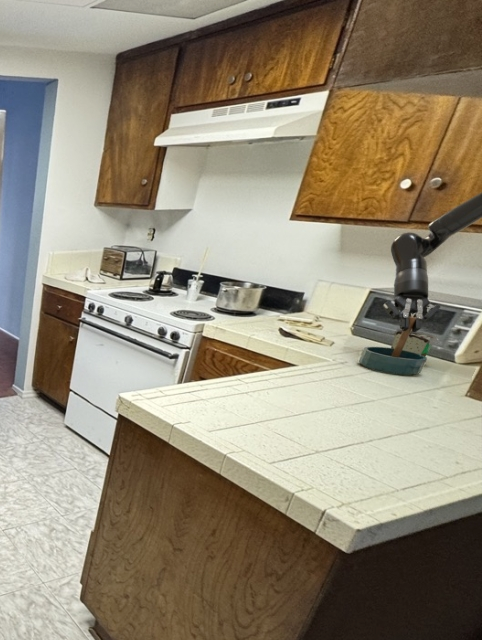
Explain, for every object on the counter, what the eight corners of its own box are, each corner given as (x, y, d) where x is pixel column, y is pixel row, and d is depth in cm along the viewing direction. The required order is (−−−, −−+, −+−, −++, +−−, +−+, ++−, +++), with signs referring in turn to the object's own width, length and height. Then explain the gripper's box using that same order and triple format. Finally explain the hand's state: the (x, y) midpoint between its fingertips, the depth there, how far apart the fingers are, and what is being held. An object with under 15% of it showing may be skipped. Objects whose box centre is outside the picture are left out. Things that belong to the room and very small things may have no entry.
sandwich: (437, 367, 156) (451, 338, 153) (418, 367, 156) (432, 338, 153) (401, 356, 168) (413, 329, 164) (383, 356, 168) (395, 328, 164)
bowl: (408, 366, 157) (415, 350, 155) (428, 379, 145) (436, 362, 143) (351, 359, 163) (357, 344, 161) (366, 371, 151) (373, 355, 149)
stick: (399, 360, 155) (419, 316, 149) (404, 364, 151) (425, 319, 146) (381, 358, 157) (400, 315, 151) (386, 362, 153) (406, 317, 147)
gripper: (389, 276, 153) (388, 320, 148) (447, 280, 147) (448, 326, 142) (376, 290, 159) (375, 333, 154) (432, 295, 154) (432, 339, 148)
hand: (410, 330), depth 148 cm, fingers closed on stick, 2 cm apart
